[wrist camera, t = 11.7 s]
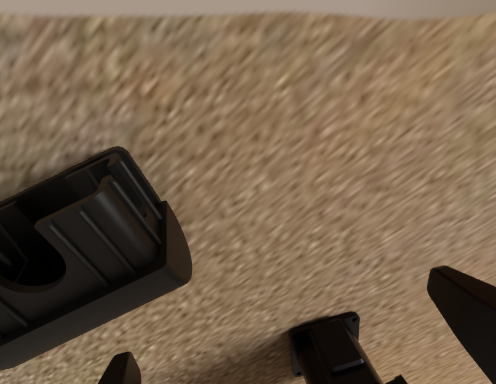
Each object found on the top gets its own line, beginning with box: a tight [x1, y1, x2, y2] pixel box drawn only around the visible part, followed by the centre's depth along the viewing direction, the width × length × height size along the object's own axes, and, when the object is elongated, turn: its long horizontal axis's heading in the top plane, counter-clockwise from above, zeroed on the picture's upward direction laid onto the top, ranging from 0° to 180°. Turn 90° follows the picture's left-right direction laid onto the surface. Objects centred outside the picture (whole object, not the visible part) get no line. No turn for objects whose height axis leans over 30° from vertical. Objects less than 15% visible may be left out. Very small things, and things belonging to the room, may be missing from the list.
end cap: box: [0, 146, 192, 370], centre depth 17 cm, size 10×7×7 cm
